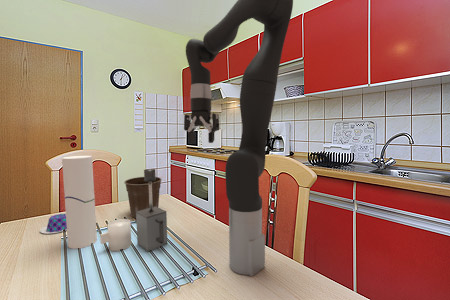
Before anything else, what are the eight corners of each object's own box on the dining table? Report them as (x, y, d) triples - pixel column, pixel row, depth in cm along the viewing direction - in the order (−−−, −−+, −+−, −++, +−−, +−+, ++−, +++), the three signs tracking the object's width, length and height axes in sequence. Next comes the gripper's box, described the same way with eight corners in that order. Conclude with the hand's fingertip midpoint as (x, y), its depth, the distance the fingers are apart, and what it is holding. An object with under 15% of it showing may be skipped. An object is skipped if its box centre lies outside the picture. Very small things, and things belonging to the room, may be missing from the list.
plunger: (162, 216, 78) (160, 169, 76) (148, 220, 74) (146, 171, 73) (154, 212, 81) (152, 167, 80) (140, 216, 78) (138, 169, 76)
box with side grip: (172, 246, 77) (171, 213, 76) (152, 255, 71) (151, 219, 70) (156, 237, 84) (155, 206, 83) (137, 244, 78) (136, 211, 77)
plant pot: (156, 220, 99) (155, 183, 98) (119, 221, 99) (117, 184, 98) (166, 208, 115) (165, 176, 114) (134, 208, 115) (133, 176, 114)
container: (83, 249, 75) (77, 158, 72) (61, 247, 77) (55, 158, 74) (102, 237, 83) (97, 155, 81) (82, 235, 85) (77, 155, 83)
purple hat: (56, 236, 85) (55, 223, 85) (31, 233, 88) (30, 220, 88) (83, 224, 97) (83, 212, 96) (61, 221, 100) (60, 209, 99)
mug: (135, 245, 78) (134, 222, 77) (105, 256, 71) (104, 231, 70) (126, 239, 82) (125, 217, 82) (98, 248, 76) (96, 225, 75)
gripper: (223, 98, 83) (222, 142, 85) (191, 100, 90) (192, 141, 92) (211, 95, 77) (211, 143, 78) (179, 98, 84) (179, 142, 85)
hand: (201, 142), depth 85 cm, fingers open, 8 cm apart
